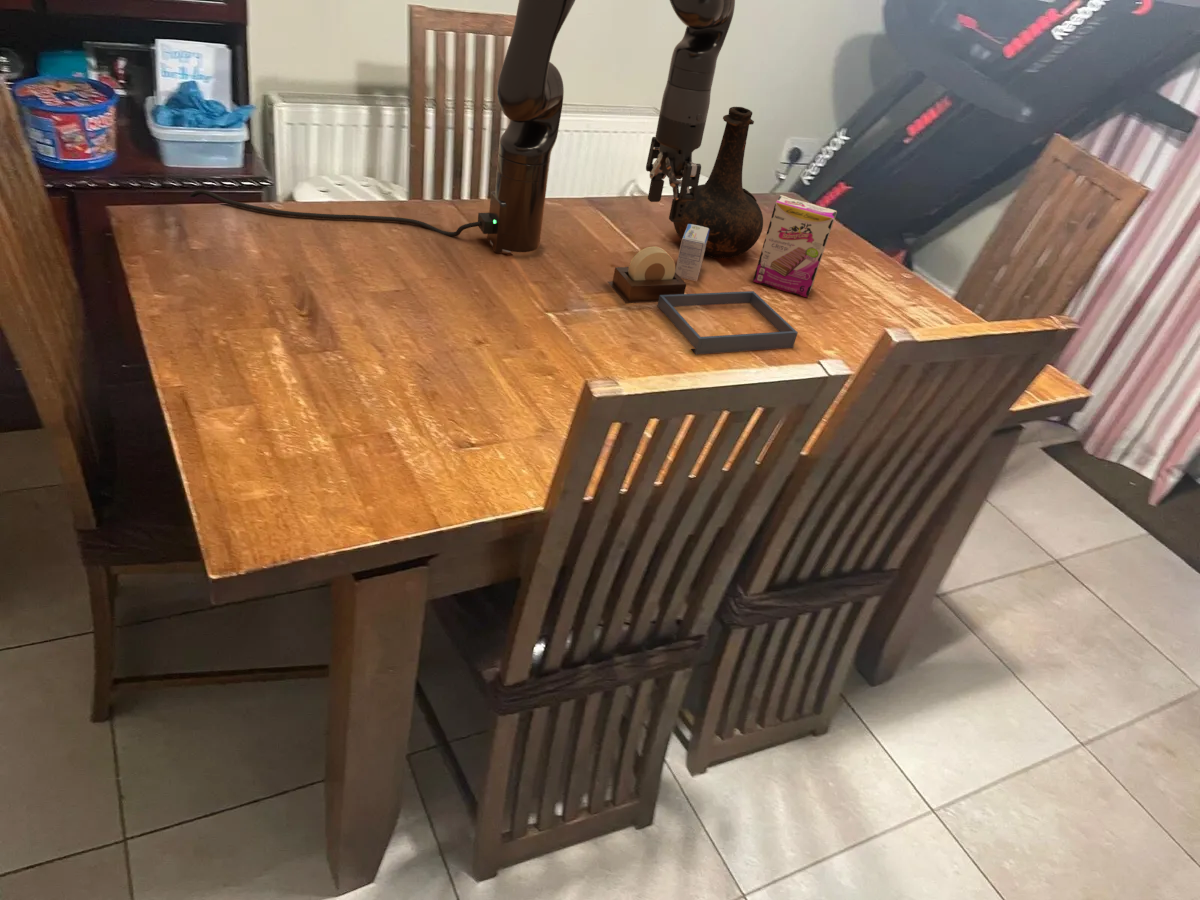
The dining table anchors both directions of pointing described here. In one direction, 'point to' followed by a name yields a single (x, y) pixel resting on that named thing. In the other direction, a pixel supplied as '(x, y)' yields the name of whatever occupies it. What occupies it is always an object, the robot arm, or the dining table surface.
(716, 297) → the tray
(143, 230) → the dining table surface
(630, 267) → the tape roll
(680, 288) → the holder
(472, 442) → the dining table surface
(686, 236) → the medicine box
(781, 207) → the candy bar box
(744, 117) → the glass bottle
